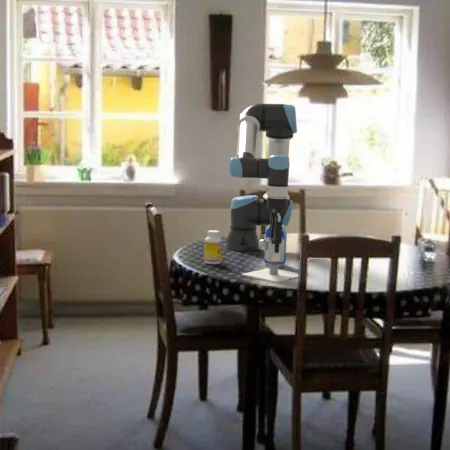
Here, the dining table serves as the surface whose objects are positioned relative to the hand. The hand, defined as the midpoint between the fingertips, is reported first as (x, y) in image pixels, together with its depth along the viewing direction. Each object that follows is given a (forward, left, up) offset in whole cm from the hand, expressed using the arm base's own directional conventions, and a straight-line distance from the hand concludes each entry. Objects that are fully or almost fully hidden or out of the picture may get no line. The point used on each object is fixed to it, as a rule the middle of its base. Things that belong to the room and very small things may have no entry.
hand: (274, 259), depth 294 cm
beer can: (-16, -12, -6) cm, 21 cm away
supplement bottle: (0, -31, -7) cm, 31 cm away
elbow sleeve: (+1, -1, 0) cm, 1 cm away
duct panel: (0, 0, -6) cm, 6 cm away
